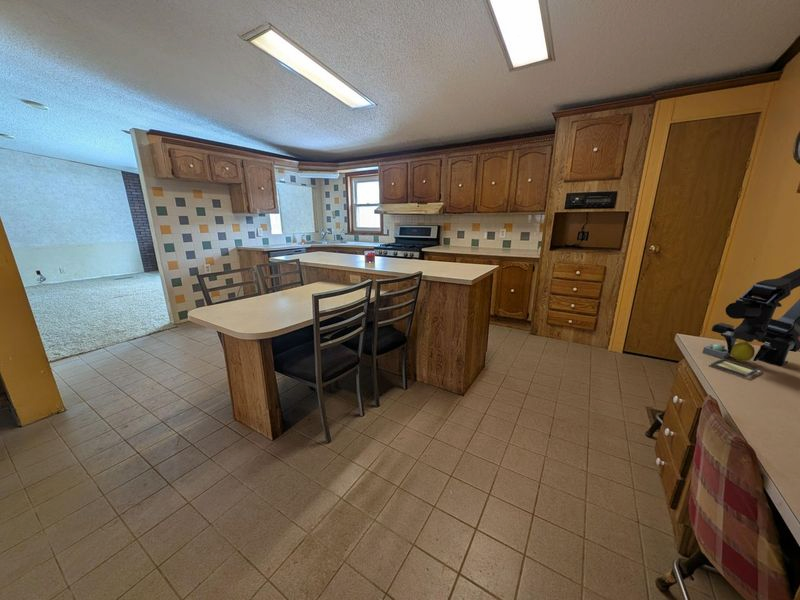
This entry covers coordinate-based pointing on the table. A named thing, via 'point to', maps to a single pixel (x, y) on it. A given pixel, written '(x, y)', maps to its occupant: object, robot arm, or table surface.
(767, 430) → the table surface
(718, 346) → the button
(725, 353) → the button housing
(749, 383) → the table surface
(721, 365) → the grey tray
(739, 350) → the lemon
